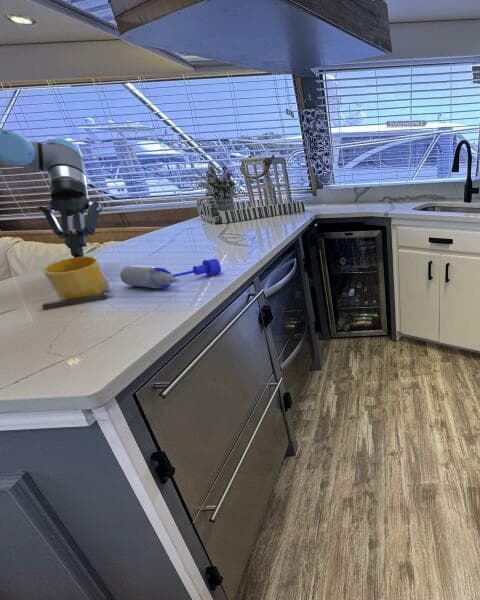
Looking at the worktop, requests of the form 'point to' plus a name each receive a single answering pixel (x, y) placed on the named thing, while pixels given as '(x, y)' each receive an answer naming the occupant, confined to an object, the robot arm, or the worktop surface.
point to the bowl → (76, 277)
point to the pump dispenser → (163, 274)
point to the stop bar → (75, 300)
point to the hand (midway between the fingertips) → (77, 256)
